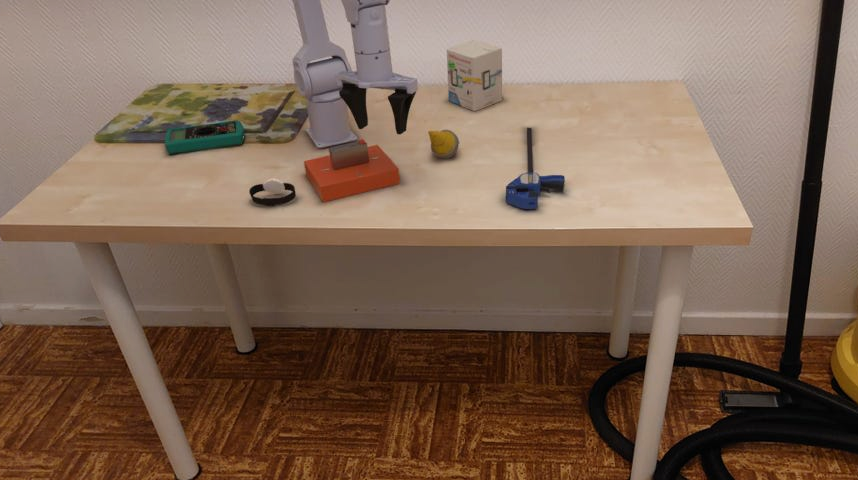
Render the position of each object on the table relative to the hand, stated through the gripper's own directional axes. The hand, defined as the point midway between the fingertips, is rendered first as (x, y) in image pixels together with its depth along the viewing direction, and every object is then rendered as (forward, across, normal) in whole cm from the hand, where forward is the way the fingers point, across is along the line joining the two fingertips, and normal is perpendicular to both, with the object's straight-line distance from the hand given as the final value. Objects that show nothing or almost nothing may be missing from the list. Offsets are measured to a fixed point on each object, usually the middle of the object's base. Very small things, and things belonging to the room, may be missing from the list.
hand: (382, 129), depth 126 cm
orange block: (+10, -7, -2) cm, 12 cm away
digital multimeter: (+8, -42, +1) cm, 43 cm away
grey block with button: (+7, -6, -2) cm, 9 cm away
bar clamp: (+11, +22, +15) cm, 29 cm away
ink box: (+9, -1, +40) cm, 41 cm away
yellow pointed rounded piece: (+10, +5, +12) cm, 17 cm away
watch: (+10, -15, -13) cm, 22 cm away
